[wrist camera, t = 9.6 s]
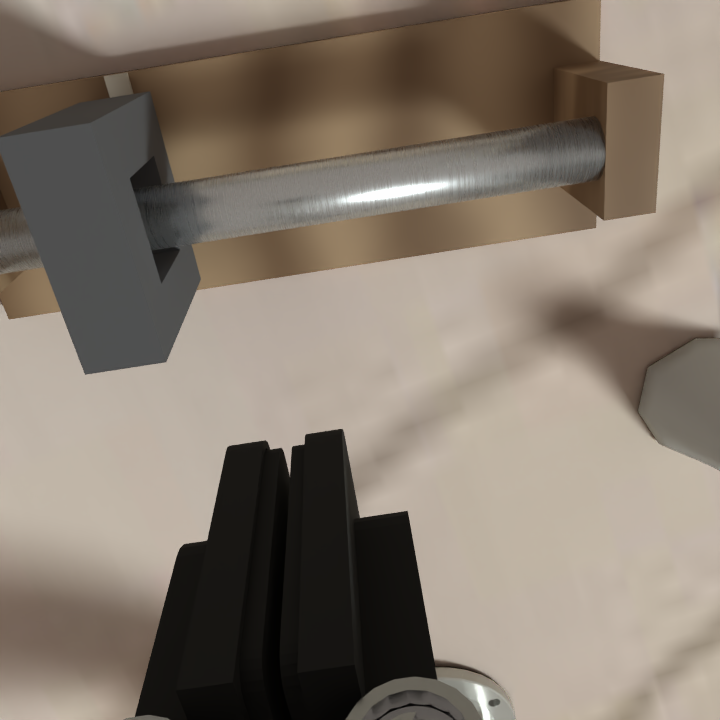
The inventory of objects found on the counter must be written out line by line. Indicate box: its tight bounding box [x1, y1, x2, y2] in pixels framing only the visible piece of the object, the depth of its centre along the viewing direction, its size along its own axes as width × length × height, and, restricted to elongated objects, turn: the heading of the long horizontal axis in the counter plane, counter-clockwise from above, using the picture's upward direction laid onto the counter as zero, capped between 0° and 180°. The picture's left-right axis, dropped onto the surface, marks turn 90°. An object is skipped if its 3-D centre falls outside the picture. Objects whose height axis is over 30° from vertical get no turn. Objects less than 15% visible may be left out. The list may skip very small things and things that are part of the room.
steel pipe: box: [0, 116, 606, 274], centre depth 26 cm, size 27×3×3 cm, turn 98°
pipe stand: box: [0, 0, 664, 319], centre depth 29 cm, size 29×10×7 cm, turn 98°
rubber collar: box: [0, 91, 201, 375], centre depth 27 cm, size 3×8×8 cm, turn 8°
